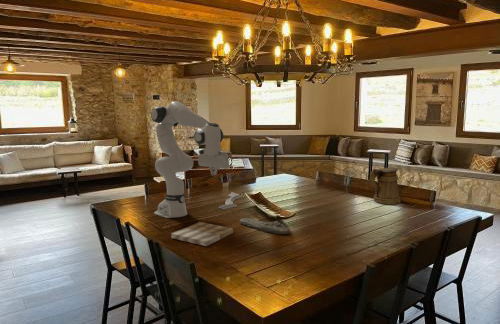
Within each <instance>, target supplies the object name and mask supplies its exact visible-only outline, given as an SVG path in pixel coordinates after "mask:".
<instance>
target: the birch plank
mask: <svg viewBox="0 0 500 324" xmlns="http://www.w3.org/2000/svg"><path fill="white" fill-rule="evenodd" d="M170 237H171V239H174V240H179V241H182V242H187V243H191V244H194V245H195V244H196V245H199V246H204V247H208V246H210V245H212V244H214V243H216V242H217V241H220V240H221V239H220V235H217V234H212V233H208V232H203V231H199V230H194V229H189V228H186V227H184V228H181V229H179V230H176V231H174V232H171V233H170Z"/></svg>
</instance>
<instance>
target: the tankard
mask: <svg viewBox="0 0 500 324" xmlns="http://www.w3.org/2000/svg"><path fill="white" fill-rule="evenodd" d="M397 172H398V167H382V168H378V169H377V168H372V170H371V172H370V175H369V182H370V185H371V187H372V188H373V190H374V193H375V194H374V196H373V201H374V202H375V203H376V204H380V205H386V206H389V205H392V206H393V205H398V204H400V203H401V202H402V201H401V196H400V195H399V194H400V193H399V185H398V184H399V183H398V180H399V177H398V176H399V175H398V174H397ZM375 179H376V180H377V182H375V181H376V180H375Z"/></svg>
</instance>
